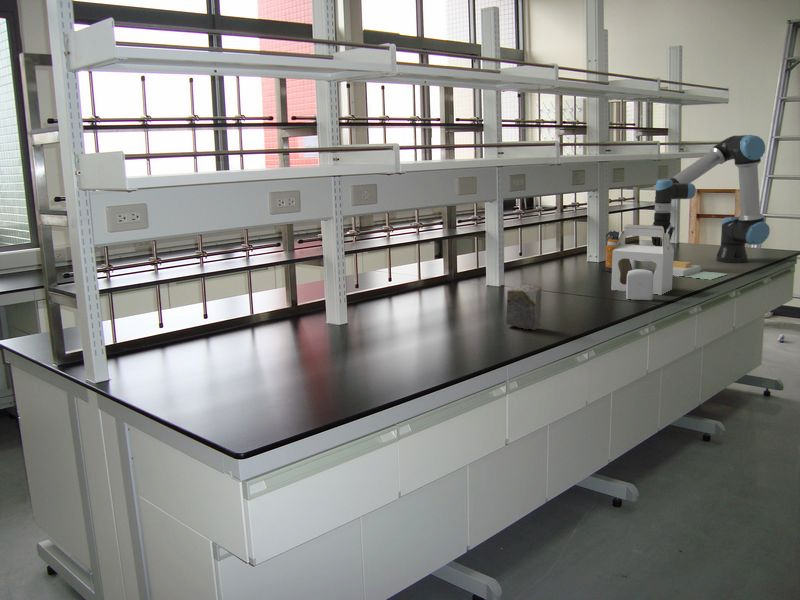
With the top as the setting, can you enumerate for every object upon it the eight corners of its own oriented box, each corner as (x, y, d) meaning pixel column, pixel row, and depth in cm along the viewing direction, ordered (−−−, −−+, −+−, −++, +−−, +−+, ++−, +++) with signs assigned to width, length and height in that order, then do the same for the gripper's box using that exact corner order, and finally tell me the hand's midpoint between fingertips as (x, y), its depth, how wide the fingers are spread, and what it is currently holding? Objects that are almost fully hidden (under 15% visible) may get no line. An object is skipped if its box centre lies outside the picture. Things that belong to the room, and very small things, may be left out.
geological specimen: (505, 328, 256) (506, 285, 253) (513, 324, 261) (513, 283, 258) (534, 331, 250) (535, 288, 247) (541, 327, 255) (542, 285, 252)
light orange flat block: (667, 266, 354) (667, 262, 354) (673, 264, 358) (673, 260, 358) (685, 268, 348) (685, 264, 348) (691, 266, 352) (691, 262, 352)
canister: (612, 273, 355) (614, 232, 351) (598, 270, 365) (600, 230, 361) (628, 272, 358) (629, 231, 354) (613, 268, 368) (615, 229, 364)
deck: (673, 268, 364) (673, 262, 364) (700, 271, 354) (701, 265, 353) (655, 273, 352) (655, 267, 352) (683, 277, 342) (683, 270, 342)
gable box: (610, 290, 317) (612, 225, 311) (622, 285, 327) (624, 222, 321) (662, 295, 303) (665, 228, 297) (672, 290, 313) (676, 225, 307)
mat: (702, 272, 353) (702, 271, 353) (727, 274, 345) (727, 274, 345) (685, 277, 341) (685, 276, 341) (710, 280, 333) (710, 279, 333)
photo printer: (625, 300, 296) (627, 269, 293) (625, 297, 300) (627, 268, 297) (652, 301, 293) (654, 270, 290) (652, 298, 297) (653, 268, 294)
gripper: (646, 211, 357) (643, 259, 362) (671, 213, 348) (668, 262, 353) (653, 210, 362) (651, 257, 367) (679, 212, 353) (676, 260, 358)
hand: (659, 260), depth 360 cm, fingers closed
